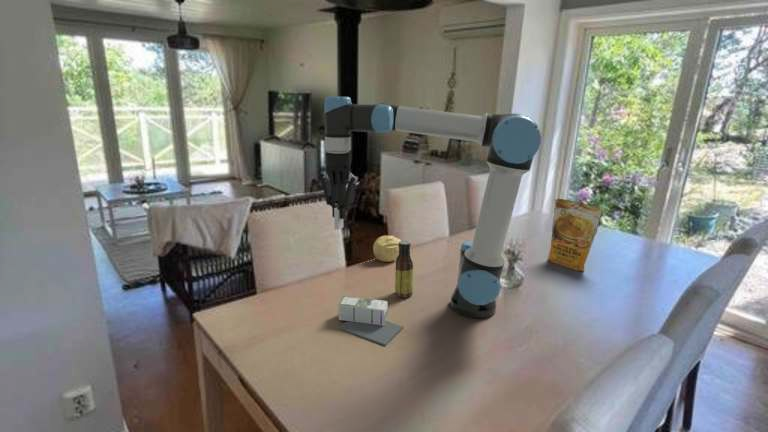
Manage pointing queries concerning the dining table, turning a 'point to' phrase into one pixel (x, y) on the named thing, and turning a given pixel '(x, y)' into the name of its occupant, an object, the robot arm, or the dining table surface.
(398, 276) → the sauce bottle
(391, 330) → the felt mat
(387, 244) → the yellow round lump
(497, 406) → the dining table surface
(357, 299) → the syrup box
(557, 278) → the dining table surface
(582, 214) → the pancake mix bag
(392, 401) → the dining table surface
